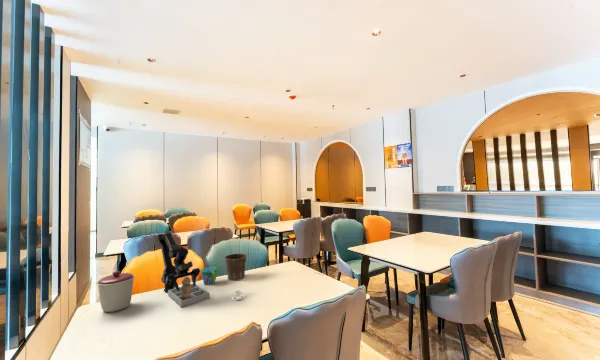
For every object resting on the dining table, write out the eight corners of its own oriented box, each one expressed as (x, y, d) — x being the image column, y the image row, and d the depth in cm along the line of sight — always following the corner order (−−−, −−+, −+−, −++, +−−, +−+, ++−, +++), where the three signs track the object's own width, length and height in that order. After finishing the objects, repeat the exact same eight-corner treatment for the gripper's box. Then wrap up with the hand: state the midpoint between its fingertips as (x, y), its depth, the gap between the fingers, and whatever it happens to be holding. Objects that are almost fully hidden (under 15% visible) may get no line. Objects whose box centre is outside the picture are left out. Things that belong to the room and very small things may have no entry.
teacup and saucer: (240, 301, 152) (240, 294, 152) (228, 301, 154) (228, 294, 154) (247, 295, 161) (246, 289, 161) (235, 295, 162) (234, 288, 162)
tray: (168, 295, 164) (168, 290, 164) (194, 288, 175) (194, 283, 175) (181, 307, 146) (181, 301, 146) (209, 298, 157) (209, 292, 158)
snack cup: (198, 282, 187) (197, 268, 187) (212, 278, 194) (212, 265, 194) (205, 288, 175) (205, 273, 175) (220, 284, 181) (220, 269, 182)
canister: (89, 318, 138) (89, 277, 139) (105, 304, 155) (105, 268, 156) (128, 312, 142) (128, 273, 143) (139, 299, 160) (139, 264, 161)
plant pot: (252, 276, 196) (251, 254, 197) (236, 283, 183) (235, 260, 183) (236, 273, 205) (236, 252, 206) (220, 279, 191) (220, 257, 192)
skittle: (179, 303, 150) (179, 278, 151) (185, 299, 155) (184, 275, 156) (187, 304, 149) (187, 278, 150) (193, 300, 154) (192, 275, 155)
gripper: (166, 261, 150) (173, 285, 141) (198, 254, 163) (206, 276, 154) (162, 272, 155) (168, 295, 147) (194, 265, 168) (201, 286, 160)
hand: (187, 288), depth 152 cm, fingers open, 9 cm apart
